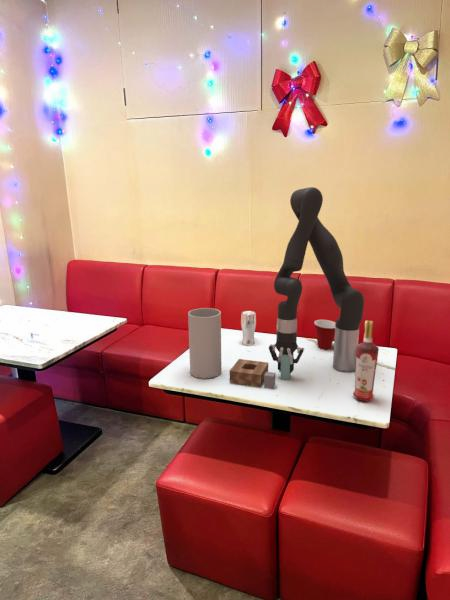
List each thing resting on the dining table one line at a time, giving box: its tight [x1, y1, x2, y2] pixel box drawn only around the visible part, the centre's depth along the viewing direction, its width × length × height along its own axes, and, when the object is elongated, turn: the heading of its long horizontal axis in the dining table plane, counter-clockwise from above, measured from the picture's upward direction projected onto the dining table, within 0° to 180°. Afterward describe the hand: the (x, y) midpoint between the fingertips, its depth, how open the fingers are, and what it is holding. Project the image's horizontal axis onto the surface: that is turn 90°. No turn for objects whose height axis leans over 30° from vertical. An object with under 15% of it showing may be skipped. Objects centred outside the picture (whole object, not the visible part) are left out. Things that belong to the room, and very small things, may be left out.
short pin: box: [263, 371, 276, 390], centre depth 158 cm, size 3×3×5 cm
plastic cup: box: [313, 319, 336, 351], centre depth 194 cm, size 11×11×12 cm
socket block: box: [229, 358, 269, 388], centre depth 164 cm, size 12×12×5 cm
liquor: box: [352, 320, 380, 402], centre depth 145 cm, size 7×7×28 cm
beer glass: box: [240, 310, 257, 346], centre depth 200 cm, size 7×7×15 cm
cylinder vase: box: [187, 307, 222, 380], centre depth 167 cm, size 12×12×25 cm
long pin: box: [279, 354, 292, 381], centre depth 164 cm, size 3×3×10 cm
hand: (285, 371), depth 165 cm, fingers closed on long pin, 3 cm apart
